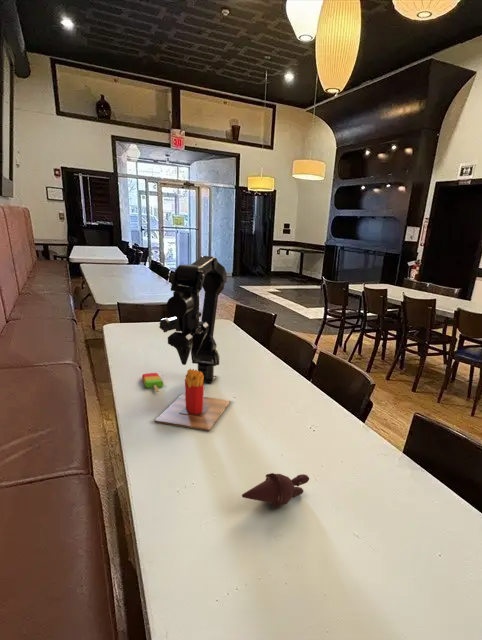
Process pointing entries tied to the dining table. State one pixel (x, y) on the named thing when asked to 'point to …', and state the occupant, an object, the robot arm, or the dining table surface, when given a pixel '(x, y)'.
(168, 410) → the placemat
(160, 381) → the popsicle
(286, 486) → the icecream
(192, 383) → the french fries
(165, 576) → the dining table surface
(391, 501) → the dining table surface
